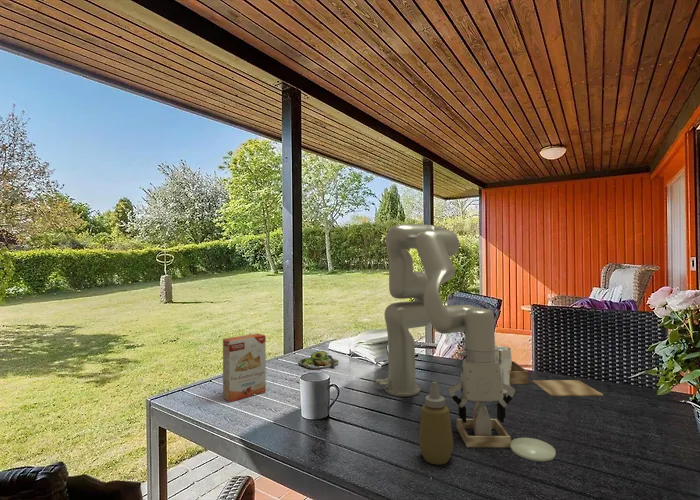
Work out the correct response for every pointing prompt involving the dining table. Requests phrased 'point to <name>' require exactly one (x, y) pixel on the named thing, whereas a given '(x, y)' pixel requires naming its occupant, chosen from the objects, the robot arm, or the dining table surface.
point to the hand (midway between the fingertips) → (482, 420)
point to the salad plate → (318, 360)
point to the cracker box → (244, 366)
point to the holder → (484, 441)
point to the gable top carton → (481, 420)
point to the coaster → (533, 449)
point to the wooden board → (566, 388)
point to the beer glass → (504, 363)
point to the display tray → (518, 374)
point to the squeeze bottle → (435, 428)
